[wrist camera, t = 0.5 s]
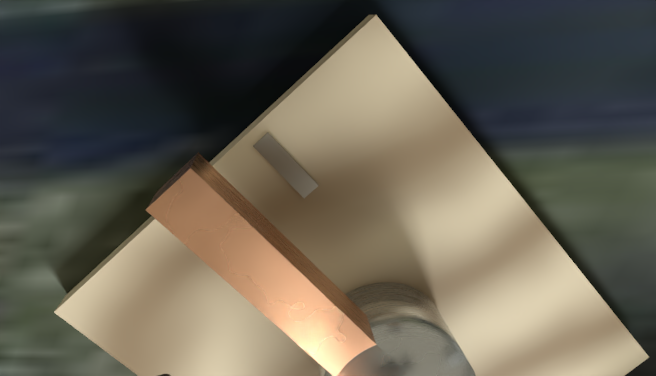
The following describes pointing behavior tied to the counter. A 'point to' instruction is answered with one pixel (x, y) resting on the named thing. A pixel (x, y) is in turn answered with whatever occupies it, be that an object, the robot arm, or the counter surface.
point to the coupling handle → (305, 286)
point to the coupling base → (361, 238)
